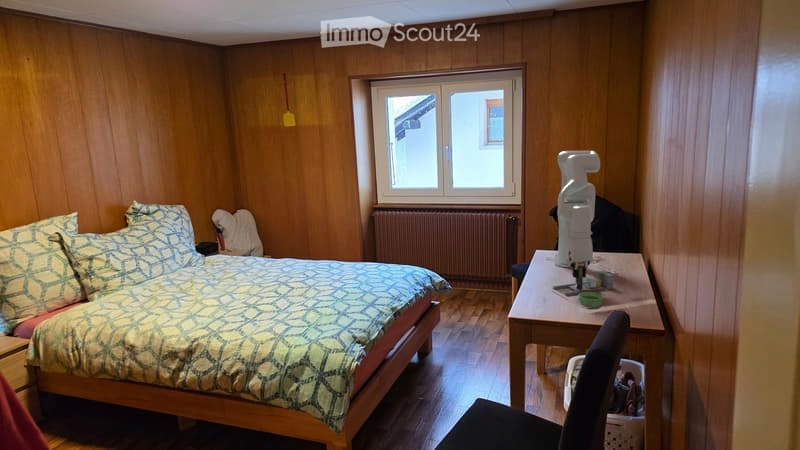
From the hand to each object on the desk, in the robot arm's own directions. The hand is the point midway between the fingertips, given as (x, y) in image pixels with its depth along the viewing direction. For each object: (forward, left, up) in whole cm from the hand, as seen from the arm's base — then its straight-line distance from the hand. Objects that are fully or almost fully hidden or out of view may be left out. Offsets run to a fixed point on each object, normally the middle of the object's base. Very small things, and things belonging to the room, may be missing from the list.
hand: (579, 276), depth 210 cm
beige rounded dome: (0, +9, -6) cm, 10 cm away
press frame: (0, +4, -7) cm, 8 cm away
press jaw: (0, +2, -5) cm, 6 cm away
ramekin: (+15, -5, -7) cm, 18 cm away
